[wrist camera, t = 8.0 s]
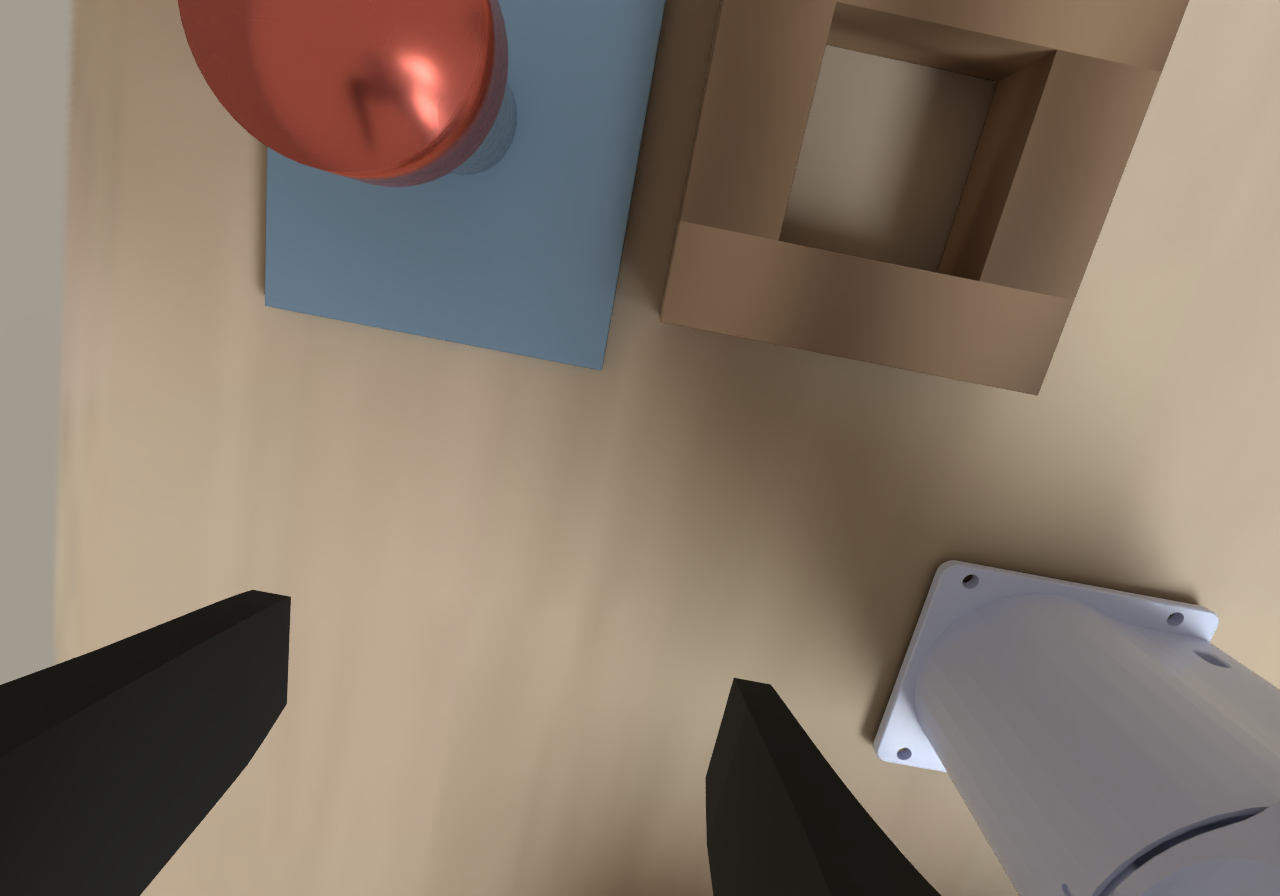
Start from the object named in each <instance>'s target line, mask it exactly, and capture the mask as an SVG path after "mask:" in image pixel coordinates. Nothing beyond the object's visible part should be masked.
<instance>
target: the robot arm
mask: <svg viewBox="0 0 1280 896" xmlns="http://www.w3.org/2000/svg"><path fill="white" fill-rule="evenodd" d="M968 575H973V577H972V579H971V580H970V581H969V582H967V583H963V579H964V578H965V577H966V576H968ZM290 605H291V597H289V596H283V595H278V594H272V593H267V592H261V591H256V590H251V591H247V592H244V593H241V594H238V595H235V596H233V597H230V598H227V599H224V600H222V601H219V602H216V603H214V604H211V605H209V606H206V607H204V608H201V609H198V610H196V611H193V612H191V613H188V614H186V615H183V616H181V617H178V618H176V619H173V620H171V621H168V622H166V623H163V624H161V625H158V626H156V627H153V628H151V629H148V630H146V631H143V632H141V633H138V634H136V635H133V636H131V637H128V638H126V639H123V640H121V641H118V642H116V643H113V644H110V645H108V646H105V647H103V648H100V649H98V650H95V651H93V652H90V653H87V654H84V655H82V656H79V657H76V658H73V659H71V660H68V661H65V662H63V663H60V664H57V665H54V666H52V667H49V668H46V669H44V670H41V671H38V672H35V673H32V674H30V675H27V676H24V677H21V678H19V679H16V680H13V681H10V682H8V683H5V684H2V685H0V896H140V895H141V894H142V892H143V891H144V890H145V889H146V887H147V886H148V885H149V884H150V883H151V881H152V880H153V879H154V878H155V877H156V875H157V874H158V873H159V872H160V871H161V869H162V868H163V867H164V866H165V865H166V863H167V862H168V861H169V860H170V859H171V857H172V856H173V855H174V854H175V853H176V851H177V850H178V849H179V848H180V846H181V845H182V844H183V843H184V842H185V840H186V839H187V838H188V837H189V836H190V834H191V833H192V832H193V831H194V830H195V828H196V827H197V826H198V825H199V824H200V822H201V821H202V820H203V819H204V818H205V816H206V815H207V814H208V813H209V811H210V810H211V809H212V808H213V807H214V805H215V804H216V803H217V802H218V800H219V799H220V798H221V797H222V796H223V794H224V793H225V792H226V791H227V789H228V788H229V787H230V786H231V785H232V783H233V782H234V781H235V780H236V778H237V777H238V776H239V775H240V773H241V772H242V771H243V770H244V768H245V767H246V766H247V765H248V763H249V762H250V760H251V759H252V757H253V756H254V754H255V753H256V751H257V750H258V748H259V747H260V745H261V744H262V742H263V741H264V739H265V738H266V736H267V734H268V733H269V731H270V730H271V728H272V726H273V725H274V723H275V722H276V720H277V718H278V717H279V715H280V714H281V712H282V710H283V709H284V707H285V706H286V704H287V684H288V658H289V631H290ZM1173 613H1174V614H1173ZM1171 614H1173V615H1172V616H1171V618H1169V619H1168V617H1169V616H1170V615H1171ZM1218 623H1219V619H1218V616H1217V615H1216V614H1215V613H1214V612H1213V611H1211V610H1209V609H1208V608H1206V607H1203V606H1199V605H1194V604H1189V603H1183V602H1178V601H1172V600H1167V599H1162V598H1156V597H1151V596H1145V595H1140V594H1135V593H1129V592H1124V591H1118V590H1113V589H1108V588H1102V587H1097V586H1091V585H1086V584H1081V583H1075V582H1070V581H1064V580H1059V579H1054V578H1048V577H1043V576H1037V575H1032V574H1027V573H1021V572H1016V571H1010V570H1005V569H1000V568H994V567H989V566H983V565H978V564H973V563H967V562H962V561H956V560H950V561H947V562H944V563H943V564H942V565H940V566H939V568H938V569H937V571H936V573H935V576H934V579H933V582H932V584H931V587H930V590H929V592H928V595H927V598H926V601H925V603H924V606H923V609H922V612H921V614H920V617H919V620H918V623H917V625H916V628H915V631H914V633H913V636H912V639H911V642H910V644H909V647H908V650H907V653H906V655H905V658H904V661H903V664H902V666H901V669H900V672H899V674H898V677H897V680H896V683H895V685H894V688H893V691H892V694H891V696H890V699H889V702H888V705H887V707H886V710H885V713H884V715H883V718H882V721H881V724H880V726H879V729H878V732H877V735H876V737H875V740H874V744H873V747H874V750H875V752H876V754H877V756H878V758H880V759H881V760H883V761H885V762H891V763H896V764H902V765H908V766H914V767H920V768H925V769H931V770H937V771H943V772H947V773H948V775H949V776H950V778H951V780H952V782H953V783H954V785H955V787H956V788H957V790H958V792H959V794H960V795H961V797H962V799H963V800H964V802H965V804H966V806H967V807H968V809H969V811H970V812H971V814H972V816H973V818H974V819H975V821H976V823H977V824H978V826H979V828H980V829H981V831H982V833H983V835H984V836H985V838H986V840H987V841H988V843H989V845H990V847H991V848H992V850H993V852H994V853H995V855H996V857H997V859H998V860H999V862H1000V864H1001V865H1002V867H1003V869H1004V871H1005V872H1006V874H1007V876H1008V877H1009V879H1010V881H1011V883H1012V884H1013V886H1014V888H1015V889H1016V891H1017V893H1018V895H1019V896H1280V689H1278V688H1277V687H1275V686H1274V685H1272V684H1271V683H1269V682H1268V681H1266V680H1265V679H1263V678H1262V677H1260V676H1259V675H1257V674H1256V673H1254V672H1253V671H1251V670H1250V669H1248V668H1247V667H1246V666H1244V665H1243V664H1241V663H1240V662H1238V661H1237V660H1235V659H1234V658H1232V657H1231V656H1229V655H1228V654H1226V653H1225V652H1223V651H1222V650H1220V649H1219V648H1217V647H1216V646H1214V645H1213V644H1211V643H1210V640H1211V638H1212V636H1213V634H1214V632H1215V630H1216V629H1217V626H1218ZM902 748H906V749H905V750H903V751H899V750H900V749H902ZM898 751H899V752H898ZM706 824H707V848H708V856H709V864H710V872H711V880H712V887H713V895H714V896H941V895H940V894H939V893H938V892H937V891H936V890H935V889H934V888H933V887H932V886H931V885H930V884H929V883H928V882H927V881H926V880H925V878H924V877H923V876H922V875H921V874H920V873H919V872H918V871H917V870H916V869H915V867H914V866H913V865H912V864H911V863H910V862H909V861H908V860H907V859H906V857H905V856H904V855H903V854H902V853H901V852H900V851H899V849H898V848H897V847H896V846H895V845H894V844H893V842H892V841H891V840H890V839H889V838H888V837H887V835H886V834H885V833H884V832H883V831H882V829H881V828H880V827H879V826H878V825H877V824H876V822H875V821H874V820H873V819H872V818H871V817H870V815H869V814H868V813H867V812H866V810H865V809H864V808H863V807H862V806H861V804H860V803H859V802H858V801H857V799H856V798H855V797H854V796H853V794H852V793H851V792H850V791H849V789H848V788H847V787H846V785H845V784H844V783H843V782H842V780H841V779H840V778H839V776H838V775H837V774H836V773H835V771H834V770H833V769H832V767H831V766H830V765H829V763H828V762H827V761H826V759H825V758H824V757H823V755H822V754H821V753H820V751H819V750H818V749H817V747H816V746H815V745H814V743H813V742H812V740H811V739H810V738H809V736H808V735H807V734H806V732H805V731H804V729H803V728H802V727H801V725H800V724H799V723H798V721H797V720H796V718H795V717H794V716H793V714H792V713H791V711H790V710H789V709H788V707H787V706H786V705H785V703H784V702H783V700H782V699H781V698H780V696H779V695H778V694H777V692H776V691H775V690H774V688H773V687H772V686H771V685H770V684H765V683H759V682H754V681H748V680H743V679H737V678H734V680H733V683H732V687H731V690H730V694H729V697H728V701H727V704H726V708H725V711H724V715H723V718H722V722H721V726H720V729H719V733H718V736H717V740H716V743H715V747H714V750H713V754H712V757H711V761H710V764H709V768H708V771H707V775H706Z"/></svg>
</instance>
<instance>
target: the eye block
mask: <svg viewBox="0 0 1280 896" xmlns="http://www.w3.org/2000/svg"><path fill="white" fill-rule="evenodd" d="M1188 2H1189V0H721V2H720V7H719V12H718V17H717V22H716V27H715V32H714V37H713V43H712V48H711V53H710V58H709V63H708V68H707V73H706V78H705V83H704V89H703V94H702V99H701V104H700V109H699V114H698V119H697V124H696V129H695V135H694V140H693V145H692V150H691V155H690V160H689V165H688V170H687V175H686V181H685V186H684V191H683V196H682V201H681V206H680V211H679V216H678V221H677V227H676V232H675V237H674V242H673V247H672V252H671V257H670V262H669V267H668V273H667V278H666V283H665V288H664V293H663V298H662V303H661V308H660V313H659V316H660V322H665V323H670V324H675V325H680V326H685V327H691V328H696V329H701V330H706V331H711V332H716V333H721V334H726V335H731V336H737V337H742V338H747V339H752V340H757V341H762V342H767V343H772V344H777V345H782V346H788V347H793V348H798V349H803V350H808V351H813V352H818V353H823V354H828V355H834V356H839V357H844V358H849V359H854V360H859V361H864V362H869V363H874V364H879V365H885V366H890V367H895V368H900V369H905V370H910V371H915V372H920V373H925V374H930V375H936V376H941V377H946V378H951V379H956V380H961V381H966V382H971V383H976V384H982V385H987V386H992V387H997V388H1002V389H1007V390H1012V391H1017V392H1022V393H1027V394H1033V395H1038V393H1039V391H1040V388H1041V385H1042V383H1043V380H1044V378H1045V375H1046V372H1047V370H1048V367H1049V365H1050V362H1051V359H1052V357H1053V354H1054V352H1055V349H1056V346H1057V344H1058V341H1059V338H1060V336H1061V333H1062V331H1063V328H1064V325H1065V323H1066V320H1067V318H1068V315H1069V312H1070V310H1071V307H1072V305H1073V302H1074V299H1075V297H1076V294H1077V292H1078V289H1079V286H1080V284H1081V281H1082V279H1083V276H1084V273H1085V271H1086V268H1087V265H1088V263H1089V260H1090V258H1091V255H1092V252H1093V250H1094V247H1095V245H1096V242H1097V239H1098V237H1099V234H1100V232H1101V229H1102V226H1103V224H1104V221H1105V219H1106V216H1107V213H1108V211H1109V208H1110V206H1111V203H1112V200H1113V198H1114V195H1115V193H1116V190H1117V187H1118V185H1119V182H1120V179H1121V177H1122V174H1123V172H1124V169H1125V166H1126V164H1127V161H1128V159H1129V156H1130V153H1131V151H1132V148H1133V146H1134V143H1135V140H1136V138H1137V135H1138V133H1139V130H1140V127H1141V125H1142V122H1143V120H1144V117H1145V114H1146V112H1147V109H1148V106H1149V104H1150V101H1151V99H1152V96H1153V93H1154V91H1155V88H1156V86H1157V83H1158V80H1159V78H1160V75H1161V73H1162V70H1163V67H1164V65H1165V62H1166V60H1167V57H1168V54H1169V52H1170V49H1171V47H1172V44H1173V41H1174V39H1175V36H1176V33H1177V31H1178V28H1179V26H1180V23H1181V20H1182V18H1183V15H1184V13H1185V10H1186V7H1187V5H1188ZM826 45H831V46H835V47H840V48H845V49H849V50H854V51H859V52H863V53H868V54H873V55H877V56H882V57H887V58H891V59H896V60H901V61H905V62H910V63H915V64H919V65H924V66H929V67H933V68H938V69H943V70H947V71H952V72H957V73H961V74H966V75H971V76H975V77H980V78H985V79H989V80H994V81H998V83H997V86H996V90H995V93H994V96H993V99H992V102H991V105H990V108H989V112H988V115H987V118H986V121H985V124H984V127H983V131H982V134H981V137H980V140H979V143H978V146H977V149H976V153H975V156H974V159H973V162H972V165H971V168H970V171H969V175H968V178H967V181H966V184H965V187H964V190H963V194H962V197H961V200H960V203H959V206H958V209H957V212H956V216H955V219H954V222H953V225H952V228H951V231H950V235H949V238H948V241H947V244H946V247H945V250H944V253H943V257H942V260H941V263H940V266H939V269H938V272H937V273H936V272H931V271H926V270H921V269H916V268H911V267H906V266H901V265H897V264H892V263H887V262H882V261H877V260H872V259H867V258H862V257H857V256H852V255H847V254H842V253H837V252H832V251H827V250H822V249H817V248H812V247H807V246H803V245H798V244H793V243H788V242H783V241H779V236H780V232H781V228H782V224H783V220H784V216H785V212H786V208H787V203H788V199H789V195H790V191H791V187H792V183H793V179H794V175H795V170H796V166H797V162H798V158H799V154H800V150H801V146H802V142H803V137H804V133H805V129H806V125H807V121H808V117H809V113H810V108H811V104H812V100H813V96H814V92H815V88H816V84H817V80H818V75H819V71H820V67H821V63H822V59H823V55H824V51H825V47H826Z"/></svg>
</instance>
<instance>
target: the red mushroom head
mask: <svg viewBox="0 0 1280 896" xmlns="http://www.w3.org/2000/svg"><path fill="white" fill-rule="evenodd" d="M178 5H179V10H180V16H181V21H182V24H183V27H184V31H185V34H186V38H187V41H188V44H189V46H190V49H191V51H192V54H193V56H194V58H195V61H196V63H197V65H198V67H199V69H200V71H201V73H202V74H203V76H204V78H205V80H206V82H207V84H208V85H209V87H210V88H211V90H212V91H213V92H214V94H215V95H216V97H217V98H218V100H219V101H220V103H221V104H222V105H223V106H224V107H225V108H226V110H227V111H228V112H229V113H230V114H231V116H232V117H233V118H234V119H235V120H236V121H237V122H238V123H239V124H240V125H241V126H242V127H243V128H245V129H246V130H247V131H248V132H249V133H250V134H251V135H252V136H254V137H255V138H256V139H258V140H259V141H260V142H262V143H263V144H264V145H266V146H267V147H269V148H271V149H272V150H274V151H276V152H277V153H279V154H281V155H283V156H284V157H287V158H289V159H291V160H294V161H296V162H298V163H301V164H303V165H307V166H310V167H314V168H317V169H320V170H324V171H327V172H330V173H334V174H337V175H341V176H344V177H347V178H351V179H354V180H357V181H361V182H365V183H368V184H372V185H378V186H385V187H407V186H414V185H420V184H423V183H427V182H430V181H433V180H436V179H438V178H440V177H442V176H444V175H446V174H448V173H454V174H460V175H471V174H477V173H480V172H483V171H486V170H488V169H490V168H491V167H493V166H494V165H496V164H497V163H498V162H499V161H500V160H501V159H502V158H503V157H504V155H505V154H506V153H507V151H508V150H509V148H510V146H511V144H512V142H513V139H514V136H515V131H516V126H517V109H516V103H515V99H514V96H513V93H512V90H511V88H510V86H509V84H508V82H507V75H508V60H509V59H508V40H507V34H506V28H505V22H504V18H503V15H502V11H501V8H500V4H499V1H498V0H178Z"/></svg>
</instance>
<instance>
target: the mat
mask: <svg viewBox="0 0 1280 896" xmlns="http://www.w3.org/2000/svg"><path fill="white" fill-rule="evenodd" d="M498 1H499V4H500V8H501V11H502V15H503V18H504V22H505V28H506V34H507V40H508V59H509V60H508V75H507V82H508V84H509V86H510V88H511V90H512V93H513V96H514V99H515V103H516V109H517V126H516V131H515V136H514V139H513V142H512V144H511V146H510V148H509V150H508V151H507V153H506V154H505V155H504V157H503V158H502V159H501V160H500V161H499V162H498V163H497V164H496V165H494V166H493V167H491V168H490V169H488V170H486V171H483V172H480V173H477V174H471V175H460V174H454V173H448V174H446V175H444V176H442V177H440V178H438V179H436V180H433V181H430V182H427V183H423V184H420V185H414V186H407V187H385V186H378V185H372V184H368V183H365V182H361V181H357V180H354V179H351V178H347V177H344V176H341V175H337V174H334V173H330V172H327V171H324V170H320V169H317V168H314V167H310V166H307V165H303V164H301V163H298V162H296V161H294V160H291V159H289V158H287V157H284V156H283V155H281V154H279V153H277V152H276V151H274V150H272V149H271V148H269V147H267V199H266V268H265V306H269V307H274V308H279V309H284V310H289V311H295V312H300V313H305V314H310V315H315V316H321V317H326V318H331V319H336V320H341V321H346V322H352V323H357V324H362V325H367V326H372V327H378V328H383V329H388V330H393V331H398V332H404V333H409V334H414V335H419V336H424V337H430V338H435V339H440V340H445V341H450V342H456V343H461V344H466V345H471V346H476V347H482V348H487V349H492V350H497V351H502V352H508V353H513V354H518V355H523V356H528V357H534V358H539V359H544V360H549V361H554V362H560V363H565V364H570V365H575V366H580V367H586V368H591V369H596V370H602V367H603V361H604V355H605V350H606V344H607V338H608V332H609V327H610V321H611V315H612V309H613V304H614V298H615V292H616V286H617V281H618V275H619V269H620V263H621V258H622V252H623V246H624V240H625V234H626V229H627V223H628V217H629V211H630V206H631V200H632V194H633V188H634V183H635V177H636V171H637V165H638V160H639V154H640V148H641V142H642V137H643V131H644V125H645V119H646V114H647V108H648V102H649V96H650V91H651V85H652V79H653V73H654V68H655V62H656V56H657V50H658V45H659V39H660V33H661V27H662V22H663V16H664V10H665V4H666V0H498Z"/></svg>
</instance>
